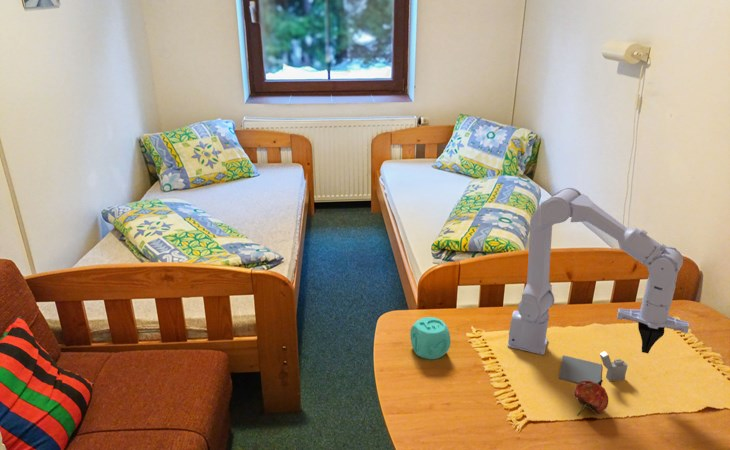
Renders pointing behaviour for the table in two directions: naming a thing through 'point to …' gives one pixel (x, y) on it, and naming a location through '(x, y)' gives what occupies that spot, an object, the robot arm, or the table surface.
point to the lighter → (614, 368)
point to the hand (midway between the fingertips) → (644, 350)
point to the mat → (579, 370)
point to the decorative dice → (430, 338)
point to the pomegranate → (591, 396)
